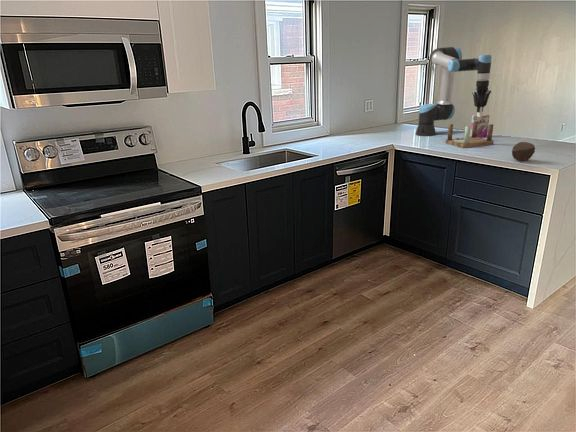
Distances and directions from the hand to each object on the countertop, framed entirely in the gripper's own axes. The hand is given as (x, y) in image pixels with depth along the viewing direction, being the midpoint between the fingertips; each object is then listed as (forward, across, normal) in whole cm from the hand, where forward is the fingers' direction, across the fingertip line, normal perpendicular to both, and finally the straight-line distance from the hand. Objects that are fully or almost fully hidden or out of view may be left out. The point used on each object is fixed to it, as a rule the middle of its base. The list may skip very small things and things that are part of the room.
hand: (479, 117), depth 281 cm
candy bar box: (+20, -21, -25) cm, 38 cm away
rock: (+20, +4, +46) cm, 50 cm away
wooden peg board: (+19, 0, -8) cm, 21 cm away
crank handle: (+17, +9, -4) cm, 19 cm away
